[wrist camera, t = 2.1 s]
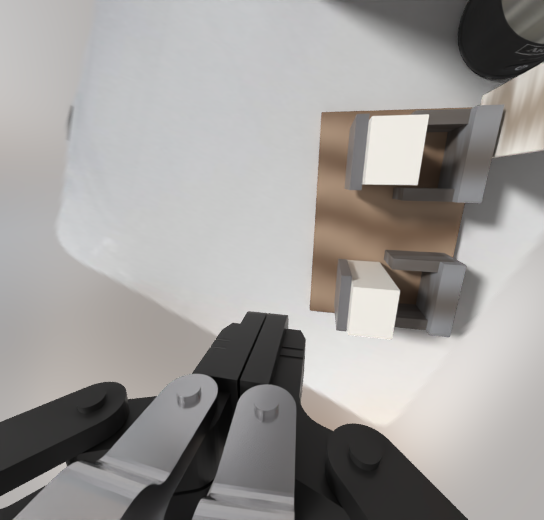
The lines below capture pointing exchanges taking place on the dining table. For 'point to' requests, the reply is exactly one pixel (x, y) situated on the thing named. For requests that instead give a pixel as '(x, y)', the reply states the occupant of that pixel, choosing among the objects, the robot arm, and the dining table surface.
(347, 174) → the button
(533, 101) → the button board
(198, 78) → the dining table surface
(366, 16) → the dining table surface
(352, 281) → the button
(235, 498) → the robot arm
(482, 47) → the milk frother
